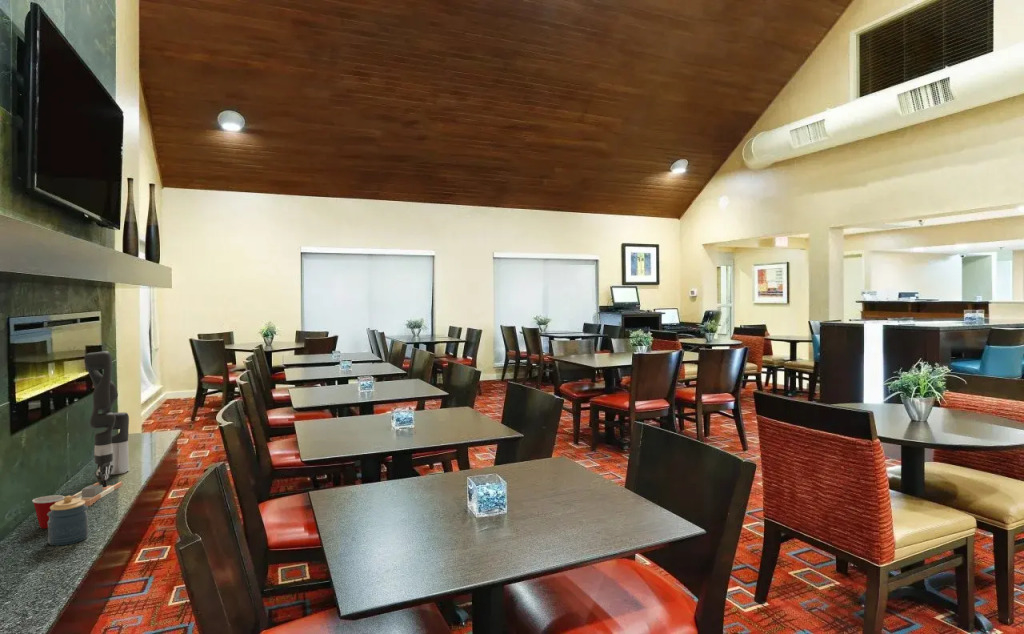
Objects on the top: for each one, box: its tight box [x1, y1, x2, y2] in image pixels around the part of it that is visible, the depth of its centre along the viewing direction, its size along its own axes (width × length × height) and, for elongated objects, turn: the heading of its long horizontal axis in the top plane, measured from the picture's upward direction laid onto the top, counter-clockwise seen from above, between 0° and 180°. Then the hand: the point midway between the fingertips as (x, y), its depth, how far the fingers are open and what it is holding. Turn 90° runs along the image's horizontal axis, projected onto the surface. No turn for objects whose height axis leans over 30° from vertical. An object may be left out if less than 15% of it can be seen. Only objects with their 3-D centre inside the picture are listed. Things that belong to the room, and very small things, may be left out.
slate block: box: [81, 484, 103, 497], centre depth 283 cm, size 6×6×4 cm
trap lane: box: [70, 481, 124, 507], centre depth 284 cm, size 29×12×2 cm, turn 8°
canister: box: [47, 495, 90, 546], centre depth 232 cm, size 13×13×18 cm
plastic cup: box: [31, 494, 66, 529], centre depth 246 cm, size 11×11×12 cm
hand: (104, 486), depth 293 cm, fingers closed
